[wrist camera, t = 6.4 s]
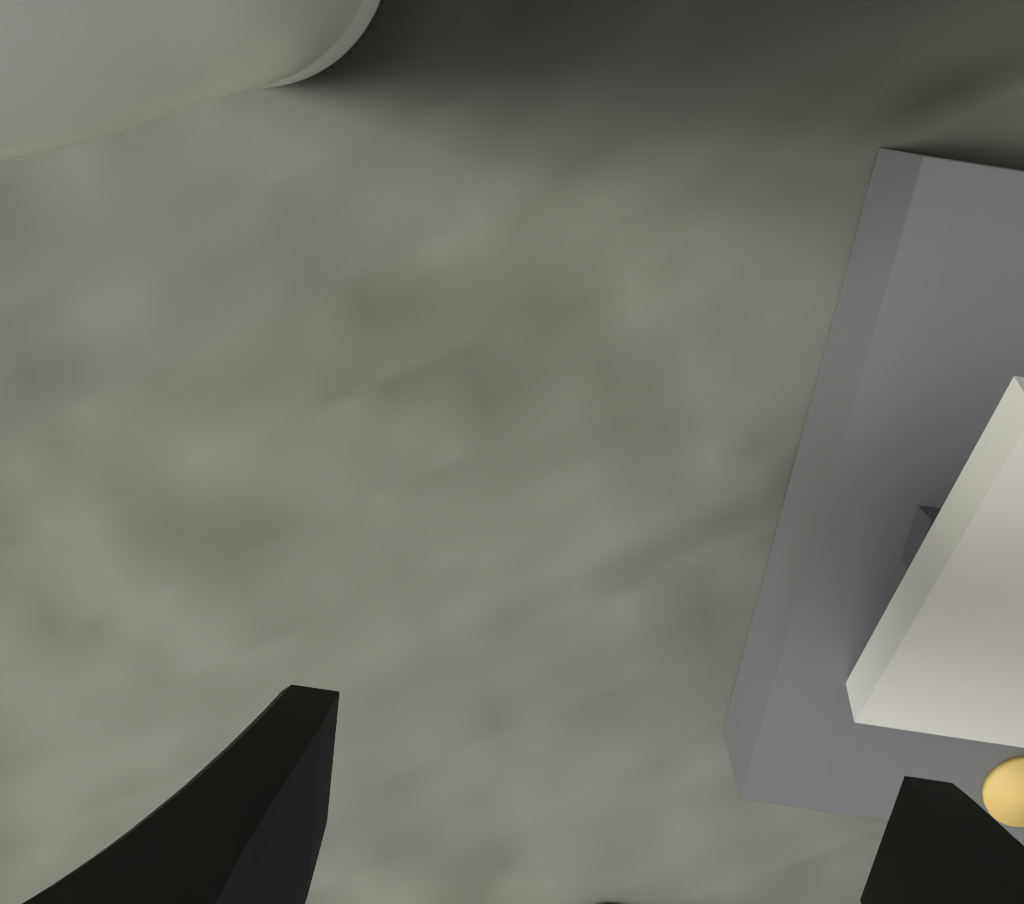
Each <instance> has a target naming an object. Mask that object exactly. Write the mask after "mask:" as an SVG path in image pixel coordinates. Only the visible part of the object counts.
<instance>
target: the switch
mask: <svg viewBox="0 0 1024 904" xmlns="http://www.w3.org/2000/svg"><path fill="white" fill-rule="evenodd" d="M846 687H847V692H848V696H849V700H850V705H851V709H852V714H853V718H854V722H855V723H861V724H868V725H875V726H881V727H888V728H895V729H901V730H908V731H915V732H922V733H928V734H935V735H942V736H948V737H955V738H962V739H969V740H975V741H982V742H989V743H995V744H1002V745H1009V746H1015V747H1022V748H1024V377H1019V376H1014V377H1013V379H1012V381H1011V382H1010V384H1009V386H1008V388H1007V390H1006V391H1005V393H1004V395H1003V397H1002V399H1001V401H1000V402H999V404H998V406H997V408H996V410H995V412H994V413H993V415H992V417H991V419H990V421H989V422H988V424H987V426H986V428H985V430H984V432H983V433H982V435H981V437H980V439H979V441H978V443H977V444H976V446H975V448H974V450H973V452H972V453H971V455H970V457H969V459H968V461H967V463H966V464H965V466H964V468H963V470H962V472H961V474H960V475H959V477H958V479H957V481H956V483H955V484H954V486H953V488H952V490H951V492H950V494H949V495H948V497H947V499H946V501H945V503H944V505H943V506H942V508H941V510H940V512H939V514H938V515H937V517H936V519H935V521H934V523H933V525H932V526H931V528H930V530H929V532H928V534H927V536H926V537H925V539H924V541H923V543H922V545H921V546H920V548H919V550H918V552H917V554H916V556H915V557H914V559H913V561H912V563H911V565H910V567H909V568H908V570H907V572H906V574H905V576H904V577H903V579H902V581H901V583H900V585H899V587H898V588H897V590H896V592H895V594H894V596H893V598H892V599H891V601H890V603H889V605H888V607H887V608H886V610H885V612H884V614H883V616H882V618H881V619H880V621H879V623H878V625H877V627H876V629H875V630H874V632H873V634H872V636H871V638H870V639H869V641H868V643H867V645H866V647H865V649H864V650H863V652H862V654H861V656H860V658H859V660H858V661H857V663H856V665H855V667H854V669H853V670H852V672H851V674H850V676H849V678H848V680H847V682H846Z"/></svg>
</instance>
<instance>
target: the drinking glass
mask: <svg viewBox="0 0 1024 904" xmlns="http://www.w3.org/2000/svg"><path fill="white" fill-rule="evenodd" d="M380 1H381V0H0V164H4V163H9V162H14V161H19V160H24V159H28V158H32V157H36V156H40V155H43V154H47V153H51V152H55V151H59V150H62V149H66V148H70V147H73V146H77V145H81V144H85V143H88V142H91V141H94V140H97V139H101V138H104V137H107V136H110V135H114V134H117V133H120V132H123V131H126V130H129V129H132V128H135V127H138V126H141V125H144V124H147V123H150V122H153V121H155V120H158V119H161V118H164V117H167V116H170V115H173V114H176V113H179V112H182V111H185V110H188V109H191V108H194V107H197V106H200V105H203V104H206V103H209V102H212V101H215V100H218V99H221V98H224V97H228V96H231V95H234V94H237V93H240V92H244V91H247V90H250V89H253V88H271V87H278V86H284V85H288V84H292V83H295V82H299V81H301V80H304V79H306V78H309V77H312V76H314V75H315V74H317V73H319V72H321V71H323V70H325V69H326V68H328V67H329V66H331V65H332V64H334V63H335V62H336V61H337V60H339V59H340V58H341V57H342V56H343V55H344V54H346V53H347V52H348V50H349V49H350V48H351V47H352V46H353V45H354V44H355V43H356V42H357V40H358V39H359V38H360V37H361V35H362V34H363V33H364V31H365V30H366V28H367V27H368V25H369V23H370V22H371V20H372V18H373V16H374V14H375V12H376V10H377V8H378V6H379V3H380Z"/></svg>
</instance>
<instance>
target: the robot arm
mask: <svg viewBox="0 0 1024 904" xmlns="http://www.w3.org/2000/svg"><path fill="white" fill-rule="evenodd" d="M338 701H339V692H337V691H331V690H324V689H317V688H311V687H304V686H297V685H290V686H289V687H287V688H286V689H284V690H283V691H282V692H281V693H280V694H279V695H278V696H277V697H276V698H275V699H274V700H273V701H272V702H271V703H270V704H269V706H268V707H267V708H266V709H265V710H264V711H263V712H262V713H261V714H260V715H259V716H258V717H257V718H256V719H255V720H254V721H253V722H252V723H251V724H250V725H249V726H248V727H247V728H246V729H245V730H244V731H243V732H242V733H241V734H240V735H239V736H238V737H237V738H236V739H235V740H234V741H233V742H232V743H231V744H230V745H229V746H228V747H227V748H226V749H224V750H223V751H222V752H221V753H220V754H219V755H218V756H217V757H216V758H215V759H213V760H212V761H211V762H210V763H209V764H208V765H207V766H206V767H205V768H204V769H202V770H201V771H200V772H199V773H198V774H197V775H196V776H195V777H194V778H193V779H192V780H190V781H189V782H188V783H187V784H186V785H185V786H184V787H182V788H181V789H180V790H179V791H178V792H177V793H175V794H174V795H173V796H172V797H170V798H169V799H168V800H167V801H165V802H164V803H163V804H162V805H161V806H159V807H158V808H157V809H156V810H154V811H153V812H152V813H151V814H149V815H148V816H147V817H146V818H145V819H143V820H142V821H141V822H140V823H138V824H137V825H136V826H135V827H134V828H132V829H131V830H130V831H128V832H127V833H126V834H124V835H123V836H122V837H120V838H119V839H118V840H116V841H115V842H114V843H112V844H111V845H110V846H108V847H107V848H106V849H104V850H103V851H101V852H100V853H99V854H97V855H96V856H94V857H93V858H92V859H90V860H89V861H87V862H86V863H84V864H83V865H81V866H80V867H78V868H77V869H76V870H74V871H73V872H71V873H70V874H68V875H67V876H65V877H64V878H62V879H61V880H59V881H58V882H56V883H55V884H53V885H52V886H50V887H48V888H47V889H45V890H44V891H42V892H40V893H39V894H37V895H36V896H34V897H32V898H31V899H29V900H27V901H26V902H24V903H23V904H305V901H306V899H307V895H308V891H309V888H310V884H311V880H312V877H313V873H314V869H315V865H316V862H317V858H318V854H319V850H320V846H321V842H322V838H323V835H324V831H325V827H326V823H327V815H328V805H329V795H330V784H331V774H332V764H333V753H334V743H335V732H336V722H337V712H338ZM860 900H861V904H1024V846H1023V845H1022V844H1021V843H1020V842H1019V841H1018V840H1017V839H1016V838H1015V837H1013V836H1012V835H1011V834H1010V833H1009V832H1008V831H1007V830H1006V829H1005V828H1004V827H1003V826H1002V825H1000V824H999V823H998V822H997V821H996V820H995V819H994V818H993V817H992V816H991V815H989V814H988V813H987V812H986V811H985V810H984V809H983V808H982V807H980V806H979V805H978V804H977V803H976V802H975V801H974V800H972V799H971V798H970V797H969V796H968V795H967V794H965V793H964V792H963V791H962V790H961V789H959V788H958V787H957V786H956V785H954V784H953V783H950V782H943V781H936V780H930V779H923V778H916V777H909V776H904V779H903V782H902V784H901V787H900V790H899V793H898V796H897V798H896V801H895V804H894V807H893V810H892V812H891V815H890V818H889V821H888V824H887V826H886V829H885V832H884V835H883V838H882V840H881V843H880V846H879V849H878V852H877V854H876V857H875V860H874V863H873V866H872V868H871V871H870V874H869V877H868V880H867V882H866V885H865V888H864V891H863V894H862V896H861V899H860Z"/></svg>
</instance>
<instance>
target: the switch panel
mask: <svg viewBox="0 0 1024 904" xmlns="http://www.w3.org/2000/svg"><path fill="white" fill-rule="evenodd" d="M1014 376H1019V377H1024V170H1018V169H1011V168H1005V167H998V166H992V165H986V164H979V163H973V162H966V161H960V160H953V159H947V158H941V157H934V156H928V155H921V154H915V153H908V152H902V151H896V150H889V149H883V148H879V150H878V154H877V157H876V161H875V165H874V169H873V172H872V176H871V180H870V183H869V187H868V191H867V195H866V198H865V202H864V206H863V210H862V213H861V217H860V221H859V224H858V228H857V232H856V236H855V239H854V243H853V247H852V251H851V254H850V258H849V262H848V265H847V269H846V273H845V277H844V280H843V284H842V288H841V291H840V295H839V299H838V303H837V306H836V310H835V314H834V318H833V321H832V325H831V329H830V332H829V336H828V340H827V344H826V347H825V351H824V355H823V358H822V362H821V366H820V370H819V373H818V377H817V381H816V385H815V388H814V392H813V396H812V399H811V403H810V407H809V411H808V414H807V418H806V422H805V425H804V429H803V433H802V437H801V440H800V444H799V448H798V452H797V455H796V459H795V463H794V466H793V470H792V474H791V478H790V481H789V485H788V489H787V492H786V496H785V500H784V504H783V507H782V511H781V515H780V519H779V522H778V526H777V530H776V533H775V537H774V541H773V545H772V548H771V552H770V556H769V559H768V563H767V567H766V571H765V574H764V578H763V582H762V586H761V589H760V593H759V597H758V600H757V604H756V608H755V612H754V615H753V619H752V623H751V627H750V630H749V634H748V638H747V641H746V645H745V649H744V653H743V656H742V660H741V664H740V667H739V671H738V675H737V679H736V682H735V686H734V690H733V694H732V697H731V701H730V705H729V708H728V712H727V716H726V720H725V723H724V727H723V733H724V737H725V741H726V745H727V749H728V752H729V756H730V760H731V764H732V768H733V772H734V776H735V780H736V783H737V787H738V791H739V795H740V799H744V800H751V801H758V802H765V803H771V804H778V805H785V806H792V807H798V808H805V809H812V810H819V811H825V812H832V813H839V814H846V815H852V816H859V817H866V818H873V819H879V820H886V821H889V818H890V815H891V812H892V810H893V807H894V804H895V801H896V798H897V796H898V793H899V790H900V787H901V784H902V782H903V779H904V776H909V777H916V778H923V779H930V780H936V781H943V782H950V783H953V784H954V785H956V786H957V787H958V788H959V789H961V790H962V791H963V792H964V793H965V794H967V795H968V796H969V797H970V798H971V799H972V800H974V801H975V802H976V803H977V804H978V805H979V806H980V807H982V808H983V809H984V810H985V811H986V812H987V813H988V814H989V815H991V816H992V817H993V818H994V819H995V820H996V821H997V822H998V823H999V824H1000V825H1002V826H1003V827H1004V828H1005V829H1006V830H1007V831H1008V832H1009V833H1010V834H1011V835H1012V836H1013V837H1015V838H1016V839H1017V840H1021V841H1024V748H1022V747H1015V746H1009V745H1002V744H995V743H989V742H982V741H975V740H969V739H962V738H955V737H948V736H942V735H935V734H928V733H922V732H915V731H908V730H901V729H895V728H888V727H881V726H875V725H868V724H861V723H855V722H854V718H853V714H852V709H851V705H850V700H849V696H848V692H847V687H846V682H847V680H848V678H849V676H850V674H851V672H852V670H853V669H854V667H855V665H856V663H857V661H858V660H859V658H860V656H861V654H862V652H863V650H864V649H865V647H866V645H867V643H868V641H869V639H870V638H871V636H872V634H873V632H874V630H875V629H876V627H877V625H878V623H879V621H880V619H881V618H882V616H883V614H884V612H885V610H886V608H887V607H888V605H889V603H890V601H891V599H892V598H893V596H894V594H895V592H896V590H897V588H898V587H899V585H900V583H901V581H902V579H903V577H904V576H905V574H906V572H907V570H908V568H909V567H910V565H911V563H912V561H913V559H914V557H915V556H916V554H917V552H918V550H919V548H920V546H921V545H922V543H923V541H924V539H925V537H926V536H927V534H928V532H929V530H930V528H931V526H932V525H933V523H934V521H935V519H936V517H937V515H938V514H939V512H940V510H941V508H942V506H943V505H944V503H945V501H946V499H947V497H948V495H949V494H950V492H951V490H952V488H953V486H954V484H955V483H956V481H957V479H958V477H959V475H960V474H961V472H962V470H963V468H964V466H965V464H966V463H967V461H968V459H969V457H970V455H971V453H972V452H973V450H974V448H975V446H976V444H977V443H978V441H979V439H980V437H981V435H982V433H983V432H984V430H985V428H986V426H987V424H988V422H989V421H990V419H991V417H992V415H993V413H994V412H995V410H996V408H997V406H998V404H999V402H1000V401H1001V399H1002V397H1003V395H1004V393H1005V391H1006V390H1007V388H1008V386H1009V384H1010V382H1011V381H1012V379H1013V377H1014Z"/></svg>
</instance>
